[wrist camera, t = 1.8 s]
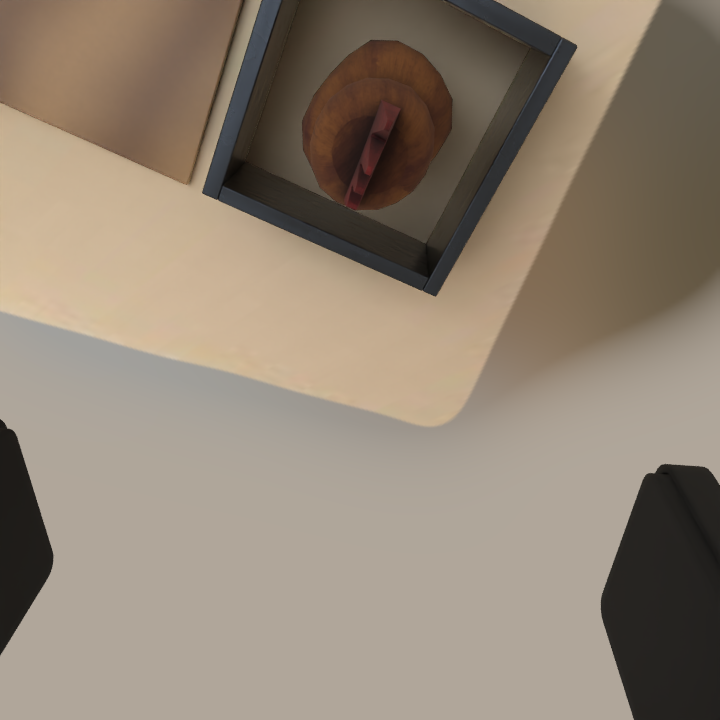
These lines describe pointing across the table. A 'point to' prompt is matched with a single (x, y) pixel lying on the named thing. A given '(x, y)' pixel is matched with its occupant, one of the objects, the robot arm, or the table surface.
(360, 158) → the wooden figurine
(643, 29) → the table surface
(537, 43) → the box
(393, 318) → the table surface
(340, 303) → the table surface
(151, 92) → the brown wooden board
